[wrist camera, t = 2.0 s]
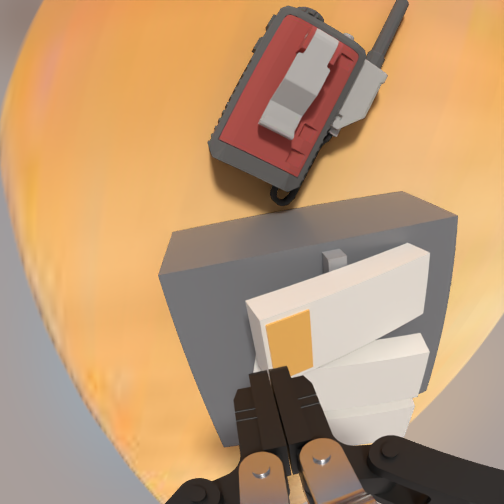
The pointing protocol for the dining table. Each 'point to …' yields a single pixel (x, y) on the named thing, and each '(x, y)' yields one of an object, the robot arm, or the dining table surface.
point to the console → (290, 279)
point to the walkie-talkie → (298, 96)
